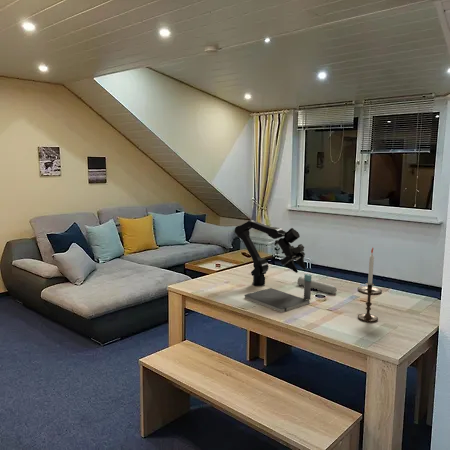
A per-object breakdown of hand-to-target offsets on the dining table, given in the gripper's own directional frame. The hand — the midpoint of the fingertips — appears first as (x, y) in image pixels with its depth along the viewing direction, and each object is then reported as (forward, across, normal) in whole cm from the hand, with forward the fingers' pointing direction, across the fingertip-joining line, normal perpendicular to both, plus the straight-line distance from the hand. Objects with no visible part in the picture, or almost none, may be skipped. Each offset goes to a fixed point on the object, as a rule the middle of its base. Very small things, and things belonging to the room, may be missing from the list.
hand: (301, 270), depth 234 cm
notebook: (+8, -19, +13) cm, 24 cm away
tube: (+13, +15, +6) cm, 20 cm away
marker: (+14, -4, +4) cm, 16 cm away
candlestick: (+38, -14, -24) cm, 47 cm away
